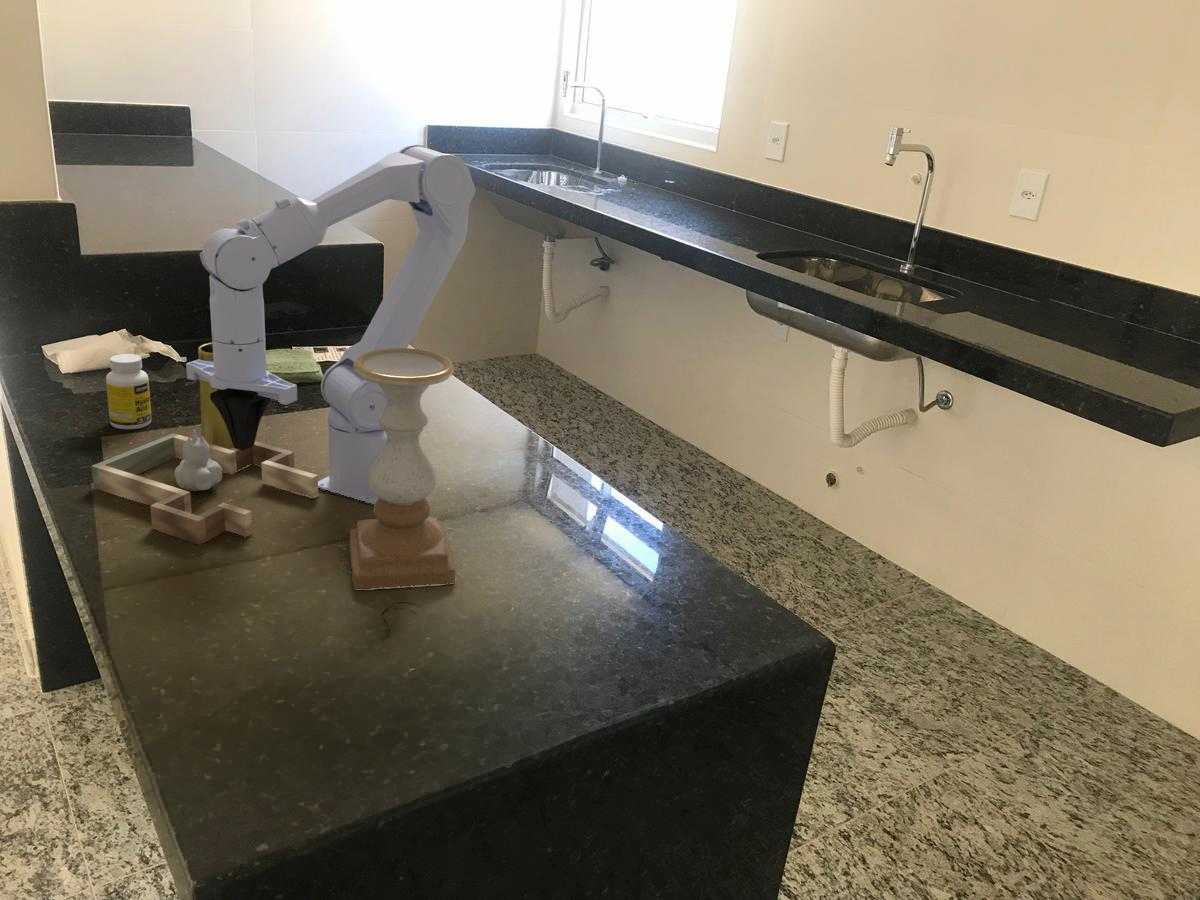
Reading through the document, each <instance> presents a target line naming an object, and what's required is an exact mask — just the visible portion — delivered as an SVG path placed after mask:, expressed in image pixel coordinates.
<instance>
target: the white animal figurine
mask: <svg viewBox="0 0 1200 900" xmlns="http://www.w3.org/2000/svg"><path fill="white" fill-rule="evenodd" d="M190 438H192V439H190ZM183 457H184V460H181V461H180V463H179V465H177V467H175V469H174V473H173V474H174V479H175V481H176V483H177V485H178V486H179V487H180V489H184V490H185V491H188V492H199V491H206V490H209V489H210V488H212V487H214V486H215V485H216V484H219V483H220V482H221V481H222V478H223V472H222V468H221V467H220V465H219V464H218V463H217V462H216V461H213V460H211V459H210V458H209V457H210V447H209V445H208V443H207V442H206V441H205V439H204V438H203V436H202V435H201V436H200V437H198V434H197V432H196V430H195V429H193V431H192V437H189V436H188V439H187V441H186V443H185V444H184V446H183Z"/></svg>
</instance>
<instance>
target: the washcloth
mask: <svg viewBox="0 0 1200 900" xmlns="http://www.w3.org/2000/svg"><path fill="white" fill-rule="evenodd" d="M266 371H268V372H270V373H271V374H273V375H275V376H277V377H279V378H281V379H283V380H285V381H287V382H289V383H292V384H299V383H300V384H302V383H311V384H312V383H317V382H318V383H319V382H320V383H321V381H322V378H323V376H324V374H323V372H322V368H321V365H320V364H319V363H318V361H317V358H316V357H314V353H313V351H311V350H308V349H303V348H302V349H301V348H300V349H296V348H295V349H293V348H292V349H291V348H275V349H268V350H267V349H266Z"/></svg>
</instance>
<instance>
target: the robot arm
mask: <svg viewBox="0 0 1200 900" xmlns="http://www.w3.org/2000/svg"><path fill="white" fill-rule="evenodd" d="M476 192H477V190H476V186H475V184H474V181H473V179H472V175H471V171H470V169H469V167H468V165H467V164H466V163H465V161H464V160H463V159H461V158H460V157H459V156H456V155H454V154H449V153H443V152H440V151H438V150H434V149H430V148H429V147H427V146H425V145H422V144H416V143H415V144H414V143H413V144H409V145H407V146H404V147H402V149H400V150H399V151H393V152H390V153H387V154H386V155H385V156H383V157H382V158H381V159H379V160H378V161H377V162H375V163H374V164H372V165H370V166H368V167H367V168H365V169H363V170H362V171H360V172H358V173H356V174H355V175H353V176H351V177H349V178H348V179H346V180H344V181H343V182H341V183H340V184H337V185H336V186H334V187H333V188H331V189H330V190H328V191H325V192H324V193H322V194H321V195H319V196H317V197H316V198H313V199H312V200H307V199H305V198H302V197H300V196H294V197H292V198H290V199H289V198H288V197H286V196H281V197H279V198H277V199H275V200H274V204H275V206H274V207H272V208H270V209H268V210H266V211H264V212H262V213H260V214H258V215H256V216H255V217H253V218H250V219H246V218H244V217H243V218H241V219H240V220H237V222H236V225H237V226H238V227H237V229H236V228H228V227H227V228H226V227H225V228H219V229H218V230H215V231H214V232H212V233H211V234H209V236H208V237H207V240H206V241H205V242H204V244H203V247H202V251H201V252H199V257H200V261H201V263H202V266H203V268H204V269H206V271H207V272H208V273H209V274H210V275H209V277H208V278H209V292H210V293H209V295H210V296H209V310H210V324H211V325H210V326H211V341H212V342H211V343H213V360H214V362H208V361H203V360H199V359H196V360H193V361H189V362H187V363H185V366H186V367H185V368H186V369H185V370H186V379H187V380H191V381H196V380H199V381H200V380H204V381H208V382H210V385H211V387H213V388H217V391H215V392H212V393H211V394H210V400H211V401H212V402H213V404H214V405H215V406H216V408H217V409H218V411H219V412H220V414H221V416H222V418H223V420H224V422H225V424H226V427H227V429H228V432H229V435H230V438H231V441H232V443H233V446H234V448H235V449H238V450H242V451H243V450H246V449H248V448H250V447H252V446H254V443H255V441H256V438H257V433H258V430H259V426H260V423H261V421H262V417H263V415H264V413H265V411H266V408H267V407H268V405H269V403H270V401H271V400H274V401H275V400H276V401H279V402H278V403H279V404H282V405H286V406H287V405H289V404H291V403H294V402H297V401H298V385H297V384H296V383H289V382H287V381H285V380H283V379H281V378H279V377H277V376H275V375H273V374H271V373H270V372H268V371H266V350H267V349H266V347H267V346H266V329H265V328H266V327H265V326H266V324H265V323H266V322H265V301H264V300H265V299H264V289H263V286H264V285H263V284H264V283H265V282H266V281H267V280H268V277H269V276H270V273H271V270H272V269H274V268H277V267H279V266H280V265H282V264H283V265H284V263H286V262H288V261H290V260H292V259H294V258H296V257H298V256H299V255H301V254H303V253H304V252H305V253H306V252H307V251H308V250H310V249H312V248H314V247H316V246H318V245H320V244H321V243H323V240H324V238H325V237H326V232H327V229H328V228H329V227H331V226H332V225H335V224H337V223H340V222H341V221H344V220H345V219H347V218H350V217H352V216H354V215H357V214H359V213H361V212H363V211H365V210H367V209H369V208H372V207H374V206H376V205H378V204H380V203H383V202H384V201H387V200H394V201H400V202H401V201H402V202H407V203H408V205H409V206H410V208H411V209H412V213H413V215H414V218H415V221H416V225H417V228H418V231H419V232H418V234H417V236H416V237H415V239H414V241H413V243H412V245H411V247H410V249H409V250H408V253H407V255H406V256H405V258H404V260H403V262H402V264H401V265H400V268H399V269H398V271H397V273H396V275H395V276H394V279H393V280H392V282H391V283H390V286H389V288H388V289H387V292H386V293H385V295H384V297H383V299H382V300H381V302H380V304H379V306H378V308H377V310H376V312H375V314H374V316H373V317H372V319H371V320H370V321H371V322H370V323H369V325H368V326H367V328H366V330H365V332H364V334H363V336H362V337H361V339H360V341H358V342H357V343H355V344H353V345H351V346H349V347H348V348H346V349H345V350H344V352H343V354H342V355H341V357H340V359H338V361H337V362H336V363H334V364H333V365H332V366H330V367H329V368H328V369H326V371H325V373H324V374H323V378H322V380H320V391H321V395H322V397H323V398H324V399H323V400H325V401H326V403H328V405H329V407H330V411H329V414H328V417H327V418H328V419H327V423H328V427H327V428H328V475H327V477H324V478H323V479H321V480H318V487H319V488H322V489H325V490H328V491H331V492H330V493H332V492H334V493H333V494H335V493H339V494H341V495H340V496H342V495H344V496H343V497H345V496H347V497H346V498H349V497H352V498H354V499H353V500H356V499H357V500H356V501H359V500H361V501H360V502H362V501H365V502H364V503H366V502H367V503H366V504H369V503H371V504H370V505H373V504H375V502H376V501H377V500H378V499H379V498H378V497H377V496H376V495H375V494H374V493H373V492H372V491H371V489H370V487H369V484H368V475H369V471H370V469H371V466H372V465H373V463H374V461H375V460H376V459H377V457H378V456H379V454H380V453H381V452H382V450H383V448H384V447H385V445H386V442H387V435H386V433H385V431H384V430H383V426H381V425H380V424H379V422H378V417H379V415H380V414H381V413H382V412H383V411H384V409H385V407H386V404H387V399H386V395H385V393H384V391H383V390H382V389H381V388H380V386H379V384H377V383H373V382H370V381H367V380H365V379H363V378H361V377H360V376H358V374H357V373H356V372H355V370H354V361H355V359H356V358H357V357H358V356H360V355H361V354H363V353H366V352H369V351H373V350H379V349H387V348H409V345H410V343H411V342H412V340H413V337H414V336H415V334H416V332H417V331H418V329H419V327H420V325H421V323H422V322H423V319H424V318H425V316H426V314H427V312H428V311H429V309H430V306H431V305H432V303H433V301H434V299H435V298H436V296H437V293H438V292H439V290H440V288H441V287H442V285H443V282H444V281H445V279H446V277H447V276H448V274H449V272H450V271H451V268H452V266H453V265H454V262H455V261H456V259H457V257H458V255H459V254H460V252H461V250H462V248H463V246H464V244H465V242H466V240H467V235H468V224H469V213H470V204H471V201H472V199H473V198H474V196H475V194H476ZM322 489H321V490H322ZM325 490H324V491H325ZM328 491H327V492H328ZM339 494H338V495H339ZM352 498H351V499H352Z"/></svg>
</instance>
